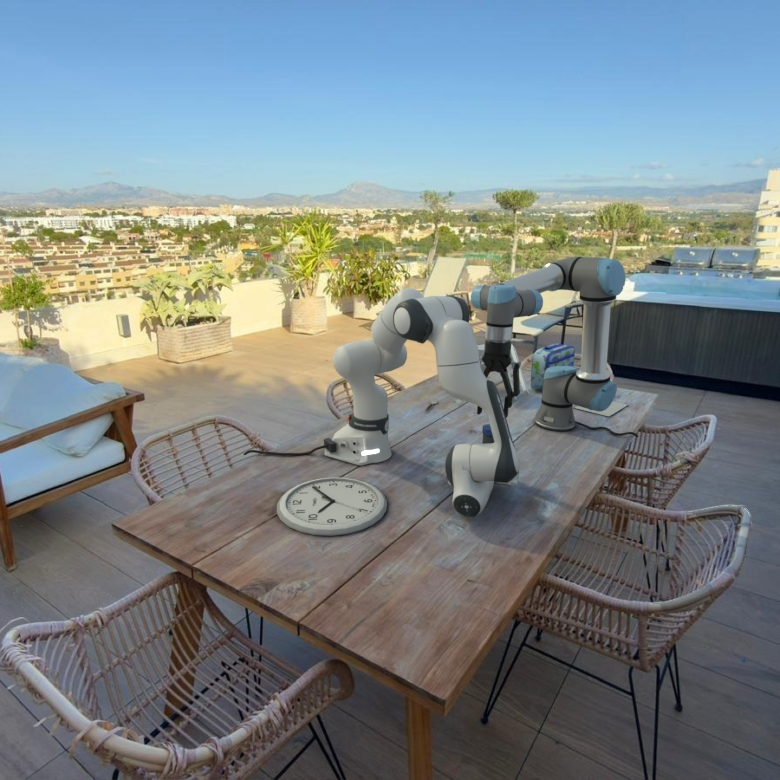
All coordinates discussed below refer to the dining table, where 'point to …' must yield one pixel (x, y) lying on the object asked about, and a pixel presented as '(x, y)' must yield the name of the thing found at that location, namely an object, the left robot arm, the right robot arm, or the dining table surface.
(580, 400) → the right robot arm
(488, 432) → the lid
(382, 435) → the left robot arm
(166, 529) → the dining table surface
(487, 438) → the dark grey cylinder
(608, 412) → the invitation card
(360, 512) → the wall clock
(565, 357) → the lunch box
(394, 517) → the dining table surface
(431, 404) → the fork
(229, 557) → the dining table surface
